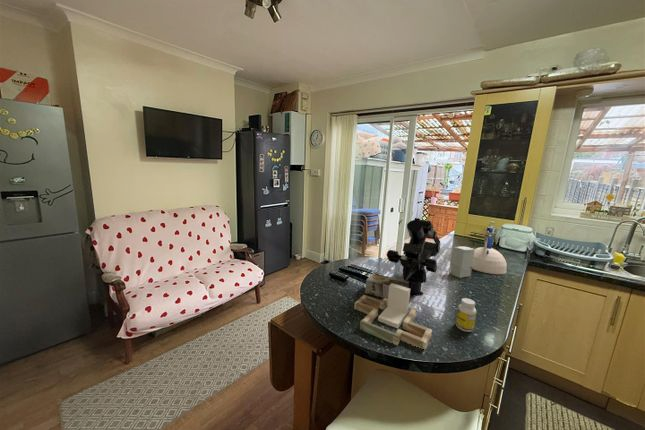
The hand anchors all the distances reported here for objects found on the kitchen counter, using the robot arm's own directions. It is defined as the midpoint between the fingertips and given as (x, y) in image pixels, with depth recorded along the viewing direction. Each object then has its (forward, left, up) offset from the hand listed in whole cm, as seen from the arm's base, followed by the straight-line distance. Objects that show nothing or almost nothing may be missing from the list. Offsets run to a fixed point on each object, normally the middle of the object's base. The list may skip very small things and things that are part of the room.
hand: (404, 279), depth 97 cm
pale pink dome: (-77, -16, -11) cm, 79 cm away
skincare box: (-52, -13, -11) cm, 54 cm away
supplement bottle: (-11, +19, -11) cm, 24 cm away
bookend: (+9, +5, -11) cm, 15 cm away
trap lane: (+12, +7, -11) cm, 17 cm away
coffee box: (+5, -16, -8) cm, 18 cm away
